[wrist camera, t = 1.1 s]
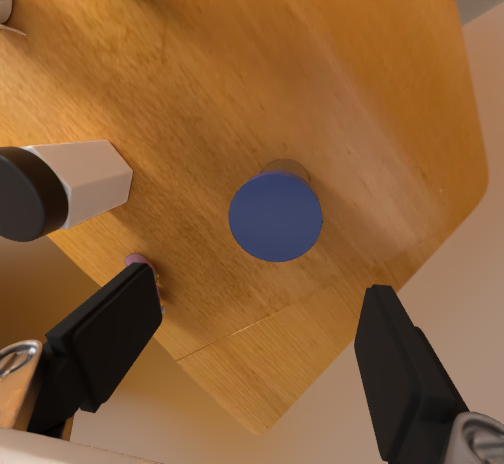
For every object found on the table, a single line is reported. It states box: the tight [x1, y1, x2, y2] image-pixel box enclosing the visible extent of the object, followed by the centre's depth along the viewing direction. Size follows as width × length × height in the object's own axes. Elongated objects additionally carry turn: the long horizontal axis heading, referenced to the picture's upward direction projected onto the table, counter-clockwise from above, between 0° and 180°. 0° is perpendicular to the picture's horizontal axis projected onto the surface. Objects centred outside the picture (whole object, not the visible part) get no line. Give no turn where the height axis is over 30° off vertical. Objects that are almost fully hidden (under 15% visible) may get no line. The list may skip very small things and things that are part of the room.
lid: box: [229, 170, 323, 262], centre depth 19 cm, size 7×7×2 cm
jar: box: [0, 140, 133, 242], centre depth 26 cm, size 9×8×12 cm
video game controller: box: [125, 254, 166, 314], centre depth 35 cm, size 10×5×7 cm, turn 0°
